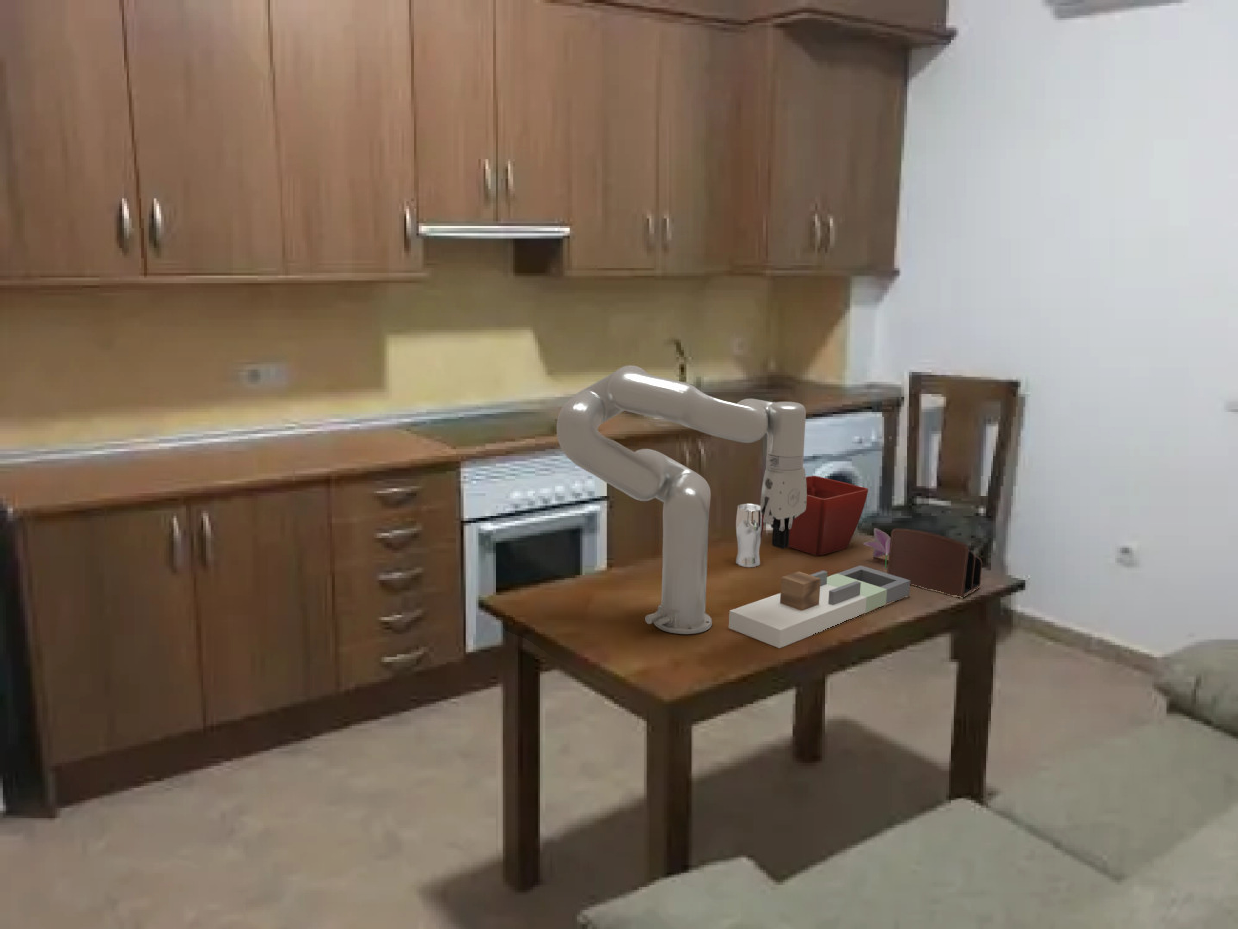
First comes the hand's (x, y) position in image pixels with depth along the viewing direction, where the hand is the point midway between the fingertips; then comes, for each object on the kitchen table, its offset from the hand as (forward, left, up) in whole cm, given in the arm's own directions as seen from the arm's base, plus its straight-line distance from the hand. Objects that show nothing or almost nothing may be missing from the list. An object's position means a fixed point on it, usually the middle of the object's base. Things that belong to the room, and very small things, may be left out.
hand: (780, 546), depth 221 cm
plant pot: (+54, +31, -19) cm, 65 cm away
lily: (+57, +10, -19) cm, 61 cm away
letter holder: (+53, -6, -19) cm, 56 cm away
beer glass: (+29, +33, -19) cm, 48 cm away
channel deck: (+16, 0, -19) cm, 25 cm away
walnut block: (+8, 0, -15) cm, 17 cm away
